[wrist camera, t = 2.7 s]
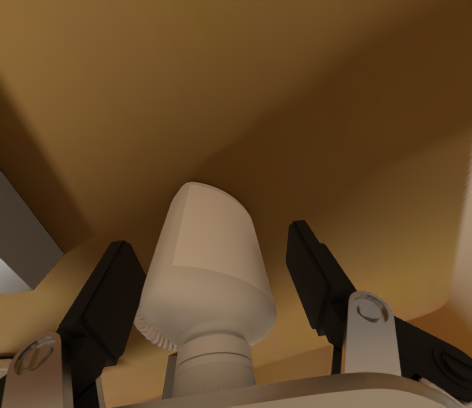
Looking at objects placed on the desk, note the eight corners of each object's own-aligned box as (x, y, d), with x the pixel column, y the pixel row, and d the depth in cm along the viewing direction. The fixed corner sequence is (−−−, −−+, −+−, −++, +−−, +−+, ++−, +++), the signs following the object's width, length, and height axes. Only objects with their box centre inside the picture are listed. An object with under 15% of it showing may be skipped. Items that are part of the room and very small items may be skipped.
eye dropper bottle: (224, 162, 12) (283, 565, 2) (255, 225, 15) (343, 521, 5) (163, 190, 13) (-25, 610, 3) (205, 246, 16) (191, 547, 6)
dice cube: (168, 371, 28) (160, 423, 23) (168, 355, 25) (160, 410, 21) (204, 369, 29) (202, 419, 24) (208, 353, 26) (207, 406, 22)
